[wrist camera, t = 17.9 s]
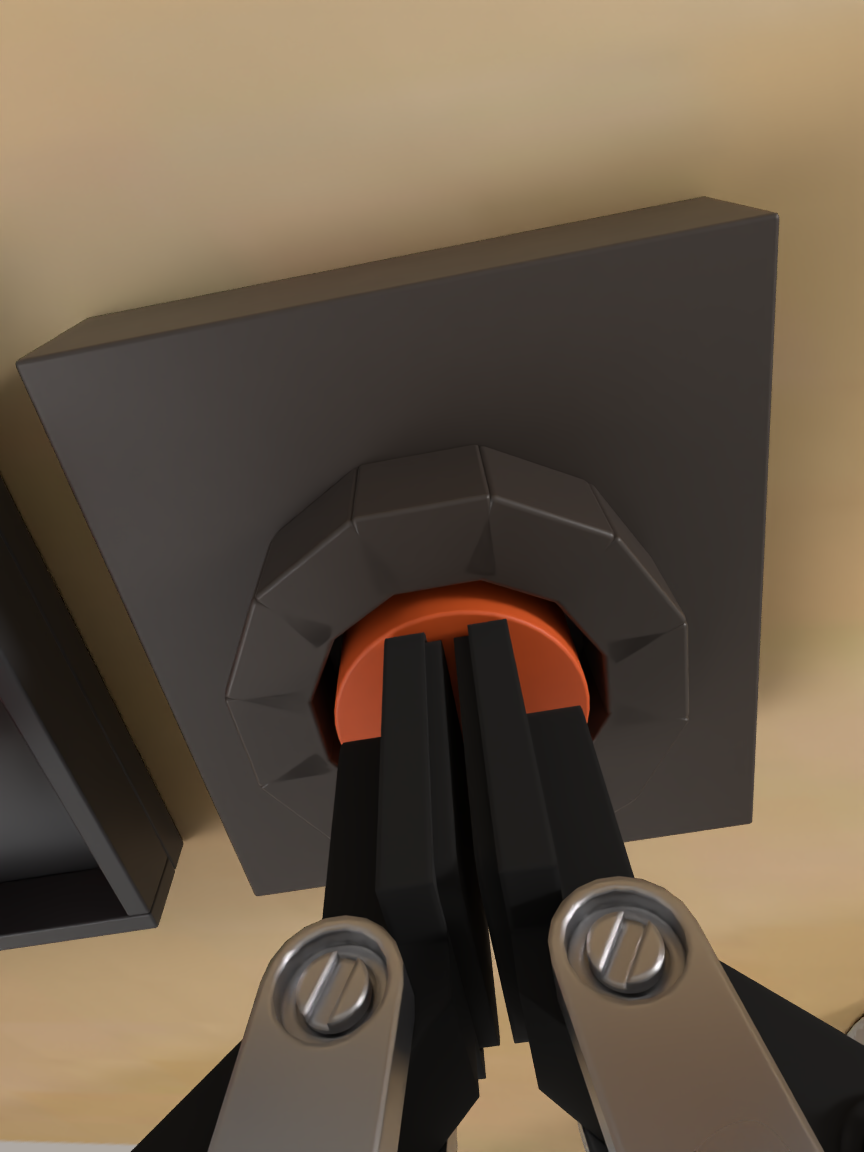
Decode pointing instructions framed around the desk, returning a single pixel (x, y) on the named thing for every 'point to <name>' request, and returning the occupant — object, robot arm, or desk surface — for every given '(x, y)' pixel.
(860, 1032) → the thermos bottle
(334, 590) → the console
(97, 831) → the tray
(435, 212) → the desk surface
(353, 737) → the button
